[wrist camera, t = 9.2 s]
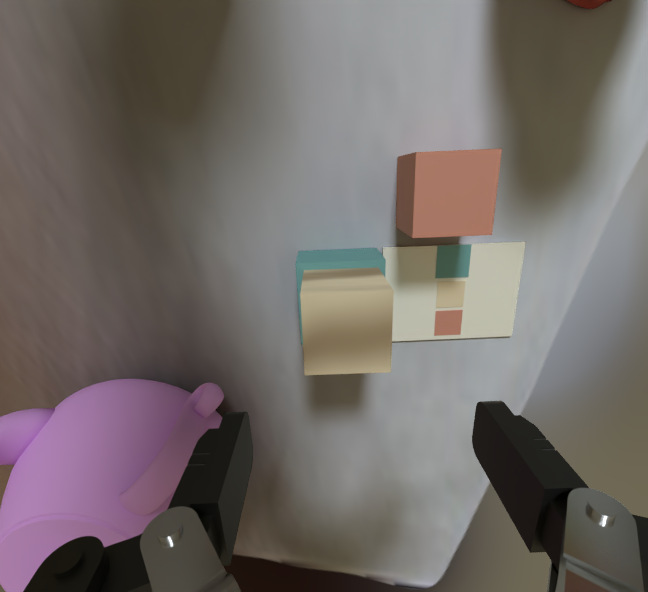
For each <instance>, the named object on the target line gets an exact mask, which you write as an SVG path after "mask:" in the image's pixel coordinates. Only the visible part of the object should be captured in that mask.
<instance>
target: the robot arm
mask: <svg viewBox="0 0 648 592" xmlns="http://www.w3.org/2000/svg"><path fill="white" fill-rule="evenodd" d="M472 443H473V449H474V452H475V455H476V457H477V459H478V460H479V462H480V464H481V466H482V468H483V469H484V471H485V473H486V475H487V476H488V478H489V480H490V482H491V484H492V485H493V487H494V489H495V491H496V492H497V494H498V496H499V498H500V500H501V501H502V503H503V505H504V507H505V508H506V510H507V512H508V514H509V515H510V517H511V519H512V521H513V523H514V524H515V526H516V528H517V530H518V532H519V533H520V535H521V537H522V539H523V540H524V542H525V544H526V546H527V548H528V549H529V551H530V552H546V553H547V554H548V556H549V557H550V559H551V564H550V568H549V576H548V585H547V592H648V518H645V517H640V516H636V515H632V514H631V513H630V512H629V511H628V509H627V508H626V507H624V506H623V505H622V504H621V503H620V502H618V501H617V500H615V499H614V498H612V497H610V496H609V495H607V494H605V493H603V492H600V491H597V490H594V489H590V488H589V487H588V486H587V485H586V484H585V483H584V481H583V480H582V479H581V478H580V477H579V476H578V474H577V473H576V472H575V471H574V470H573V469H572V467H570V465H569V464H568V463H567V462H566V461H565V459H564V458H563V457H562V456H561V455H560V454H559V452H558V451H555V449H554V447H553V446H552V444H551V443H550V442H549V441H548V440H546V438H545V436H544V435H543V434H542V433H541V432H540V431H539V429H538V428H537V427H536V426H535V425H534V424H532V423H530V422H529V421H528V420H526V419H525V418H523V417H522V416H520V415H518V416H514V414H513V413H512V412H511V411H510V409H509V408H508V407H507V406H506V405H505V403H504V402H502V401H486V402H478V403H477V406H476V412H475V420H474V428H473V435H472ZM252 461H253V445H252V438H251V430H250V423H249V416H248V413H247V412H226V413H225V414H224V416H223V418H222V421H221V423H220V426H219V428H214V429H208V430H207V431H206V432H205V433H204V434H203V435H202V436H201V437H200V438H199V439H198V441H197V443H196V446H195V448H194V450H193V452H192V455H191V457H190V459H189V461H188V465H187V466H186V468H185V470H184V473H183V475H182V477H181V479H180V482H179V484H178V486H177V488H176V491H175V493H174V495H173V497H172V500H171V502H170V504H169V506H168V508H167V510H166V511H164V512H162V513H160V514H159V515H157V516H156V517H155V518H154V519H153V520H152V521H151V522H150V523H149V524H148V525H147V526H146V528H145V530H144V531H143V533H142V534H140V535H138V536H135V537H133V538H130V539H127V540H124V541H121V542H118V543H115V544H113V545H110V546H107V547H104V546H103V543H102V542H101V540H100V539H99V538H97V537H94V536H83V537H79V538H76V539H73V540H71V541H69V542H67V543H65V544H63V545H62V546H60V547H59V548H57V549H56V550H55V551H54V552H52V553H51V554H50V555H49V556H48V557H47V558H46V559H45V560H44V561H43V562H42V564H41V565H40V566H39V568H38V569H37V571H36V572H35V574H34V575H33V577H32V578H31V580H30V582H29V583H28V585H27V586H26V588H25V589H24V591H23V592H241V591H240V588H239V587H238V584H237V583H236V581H235V579H234V577H233V576H232V575H231V574H230V573H229V574H227V573H226V571H225V570H224V568H223V566H225V565H230V562H231V558H232V553H233V549H234V544H235V540H236V535H237V531H238V526H239V522H240V517H241V513H242V508H243V504H244V499H245V495H246V490H247V486H248V481H249V476H250V472H251V467H252Z"/></svg>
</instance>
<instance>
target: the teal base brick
mask: <svg viewBox="0 0 648 592" xmlns="http://www.w3.org/2000/svg"><path fill="white" fill-rule="evenodd" d="M375 267H378V268H379V269H380V271H381V272H382V274H383V275H384V277H385V268H386V259H385V258H384V257H383V256H382V254H381V253H380V252H379V251H378V250H377V248H362V249H339V250H316V251H299V252H298V256H297V260H296V276H297V291H298V305H299V320H300V334H301V344H303V334H302V317H301V300H300V292H301V285H302V279H303V272H304V270H319V269H347V268H375Z"/></svg>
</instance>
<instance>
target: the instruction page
mask: <svg viewBox="0 0 648 592" xmlns="http://www.w3.org/2000/svg"><path fill="white" fill-rule="evenodd" d="M525 244H526V242H524V241H523V242H500V243H477V244H454V245H431V246H408V247H385V248H383V255H382V256H383V257H384V258H385V259H386V268H385V278H386V280H387V281H388V283H389V284H390V286H391V287H392V289H393V290H394V295H393V324H392V341H413V340H436V339H459V338H482V337H504V336H512V331H513V324H514V317H515V311H516V304H517V297H518V291H519V284H520V277H521V270H522V264H523V257H524V250H525Z"/></svg>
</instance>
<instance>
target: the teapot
mask: <svg viewBox="0 0 648 592" xmlns="http://www.w3.org/2000/svg"><path fill="white" fill-rule="evenodd" d="M223 399H224V394H223V391H222V390H221V388H220V387H219V386H218V385H216V384H214V383H205V384H202V385H201V386H199V387H198V388H197V389H196V390H195V391H194V392H193V393H190V392H188V391H186V390H184V389H181V388H179V387H176V386H173V385H170V384H167V383H163V382H158V381H153V380H144V379H116V380H109V381H105V382H101V383H97V384H94V385H91V386H89V387H86V388H84V389H81V390H79V391H77V392H75V393H74V394H72V395H70V396H69V397H67V398H66V399H65V400H63V401H62V402H61V403H60V404H59V405H57V406H56V407H55V408H34V409H28V410H22V411H16V412H13V413H10V414H7V415H4V416H1V417H0V465H14V467H13V470H12V472H11V475H10V478H9V480H8V484H7V487H6V490H5V493H4V496H3V500H2V505H1V509H0V584H1V585H2V587H3V588H4V590H5V591H6V592H23V591H24V589H25V588H26V586H27V585H28V583H29V582H30V580H31V578H32V577H33V575H34V574H35V572H36V571H37V569H38V568H39V566H40V565H41V564H42V562H43V561H44V560H45V559H46V558H47V557H48V556H49V555H50V554H51V553H52V552H54V551H55V550H56V549H57V548H59V547H60V546H62V545H63V544H65V543H67V542H69V541H71V540H73V539H76V538H79V537H83V536H94V537H97V538H99V539H100V540H101V542H102V543H103V546H104V547H107V546H110V545H113V544H115V543H118V542H121V541H124V540H127V539H130V538H133V537H135V536H138V535H140V534H142V533H143V531H144V530H145V528H146V526H147V525H148V524H149V523H150V522H151V521H152V520H153V519H154V518H155V517H156V516H157V515H159V514H160V513H162V512H164V511H166V510H167V508H168V506H169V504H170V502H171V500H172V497H173V495H174V493H175V491H176V488H177V486H178V484H179V482H180V479H181V477H182V475H183V473H184V470H185V468H186V466H187V465H188V461H189V459H190V457H191V455H192V452H193V450H194V448H195V446H196V443H197V441H198V439H199V438H200V437H201V436H202V435H203V434H204V433H205V432H206V431H207V430H208V429H214V428H219V426H220V423H221V421H222V417H221V416H220V414H219V413H217V412H216V411H215V410H216V409H217V407H218V406H219V405H220V404H221V402H222V401H223Z"/></svg>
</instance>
